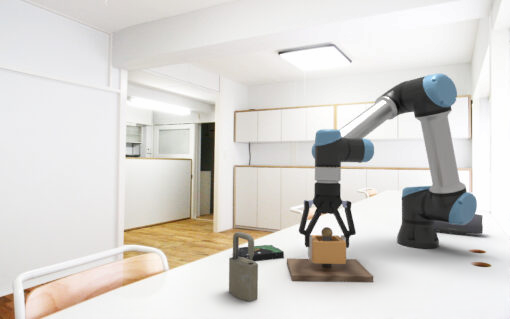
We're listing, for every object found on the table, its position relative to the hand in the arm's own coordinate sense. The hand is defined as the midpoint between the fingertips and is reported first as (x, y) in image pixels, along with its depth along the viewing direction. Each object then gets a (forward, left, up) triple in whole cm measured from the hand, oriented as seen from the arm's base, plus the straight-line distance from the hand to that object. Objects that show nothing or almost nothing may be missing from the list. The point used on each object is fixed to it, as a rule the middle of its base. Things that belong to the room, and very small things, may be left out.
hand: (326, 258), depth 99 cm
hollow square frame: (0, 0, 0) cm, 0 cm away
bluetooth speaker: (-71, -58, -4) cm, 92 cm away
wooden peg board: (0, 0, -4) cm, 4 cm away
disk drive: (+20, -16, -5) cm, 26 cm away
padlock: (+24, +18, -4) cm, 30 cm away
